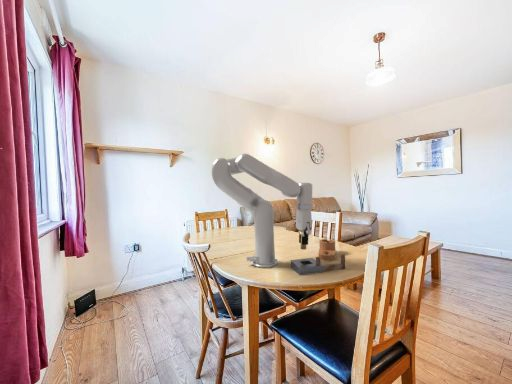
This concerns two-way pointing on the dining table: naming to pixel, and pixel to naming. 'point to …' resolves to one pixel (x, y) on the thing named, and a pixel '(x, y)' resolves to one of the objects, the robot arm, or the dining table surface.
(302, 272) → the collar block
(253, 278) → the dining table surface
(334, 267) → the brown drawer handle
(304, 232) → the pin
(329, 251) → the bracket
